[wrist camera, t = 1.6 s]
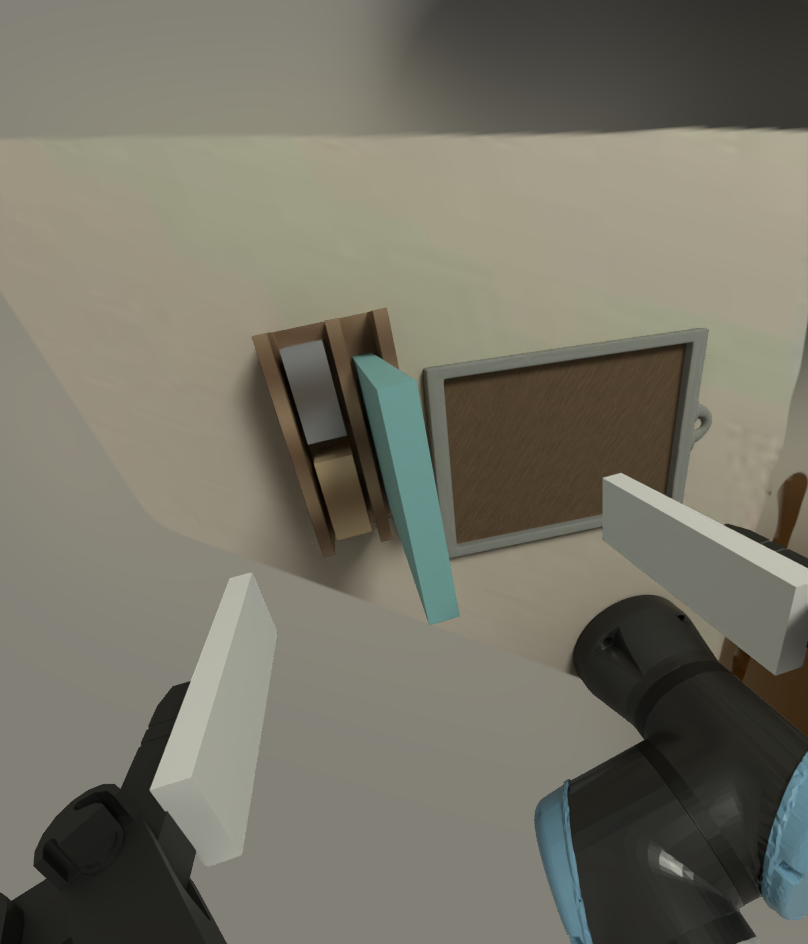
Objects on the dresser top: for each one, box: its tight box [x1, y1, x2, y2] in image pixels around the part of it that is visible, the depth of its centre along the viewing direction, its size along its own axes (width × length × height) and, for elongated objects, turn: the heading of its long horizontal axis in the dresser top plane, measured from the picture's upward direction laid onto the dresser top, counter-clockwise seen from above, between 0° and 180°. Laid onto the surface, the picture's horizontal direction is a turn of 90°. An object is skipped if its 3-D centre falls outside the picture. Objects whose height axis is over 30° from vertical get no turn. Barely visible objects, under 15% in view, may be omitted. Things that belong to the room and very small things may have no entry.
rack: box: [251, 308, 399, 557], centre depth 33 cm, size 18×9×5 cm, turn 12°
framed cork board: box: [423, 328, 712, 558], centre depth 39 cm, size 19×2×30 cm
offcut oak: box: [314, 441, 372, 541], centre depth 34 cm, size 7×3×4 cm, turn 12°
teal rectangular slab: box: [352, 353, 459, 625], centre depth 26 cm, size 12×2×18 cm, turn 12°
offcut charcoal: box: [279, 339, 347, 445], centre depth 30 cm, size 7×3×4 cm, turn 12°
